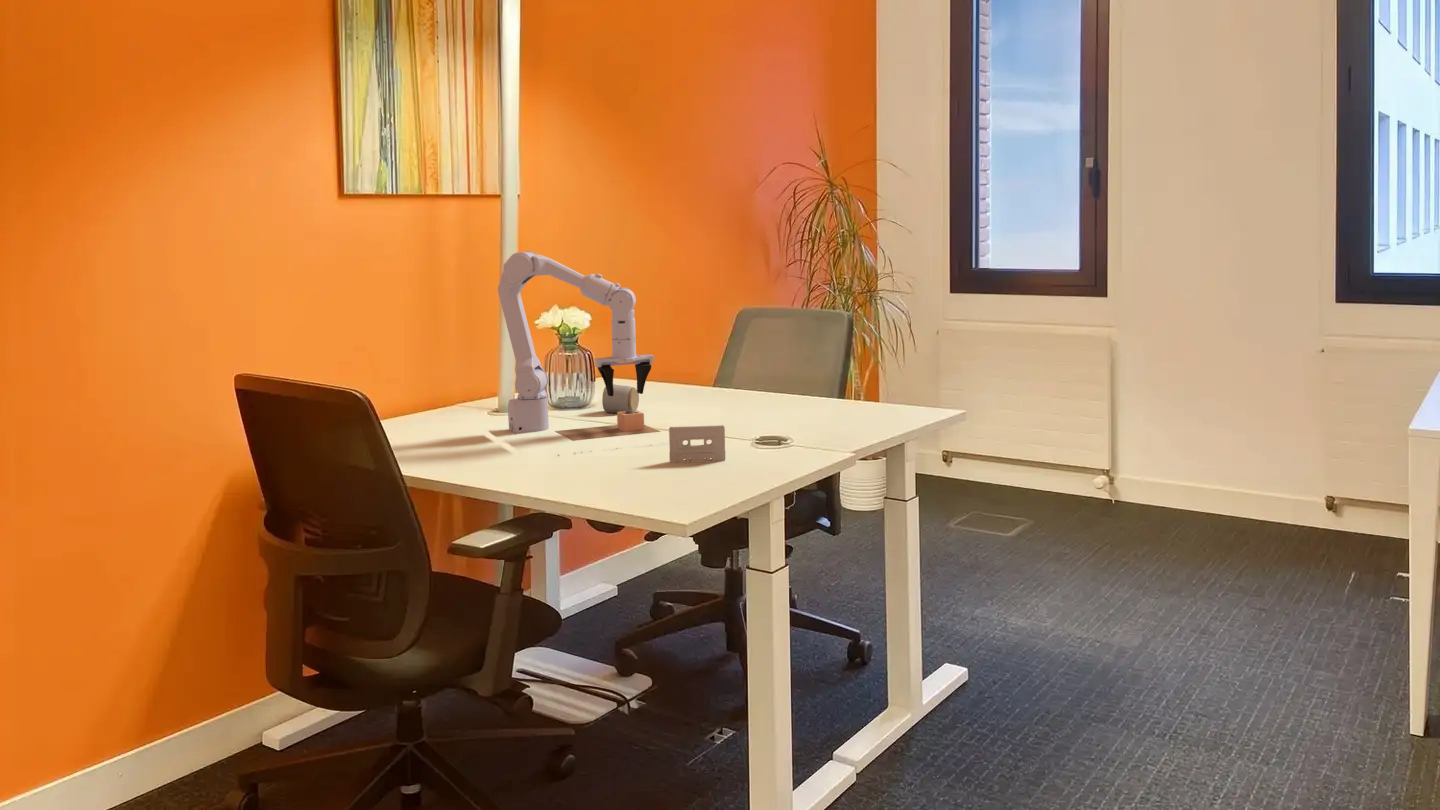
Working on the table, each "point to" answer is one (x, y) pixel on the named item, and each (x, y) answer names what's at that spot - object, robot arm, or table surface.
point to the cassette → (697, 451)
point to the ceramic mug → (620, 399)
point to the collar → (630, 421)
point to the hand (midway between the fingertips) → (625, 394)
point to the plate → (602, 431)
